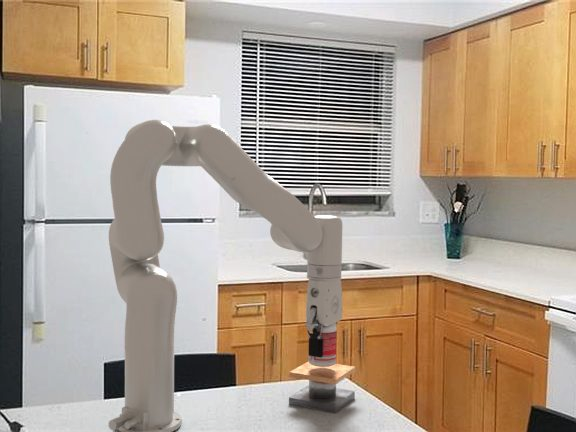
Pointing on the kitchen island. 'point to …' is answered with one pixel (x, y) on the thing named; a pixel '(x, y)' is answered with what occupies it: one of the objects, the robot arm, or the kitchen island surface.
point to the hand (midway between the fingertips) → (322, 352)
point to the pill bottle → (326, 347)
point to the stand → (322, 387)
